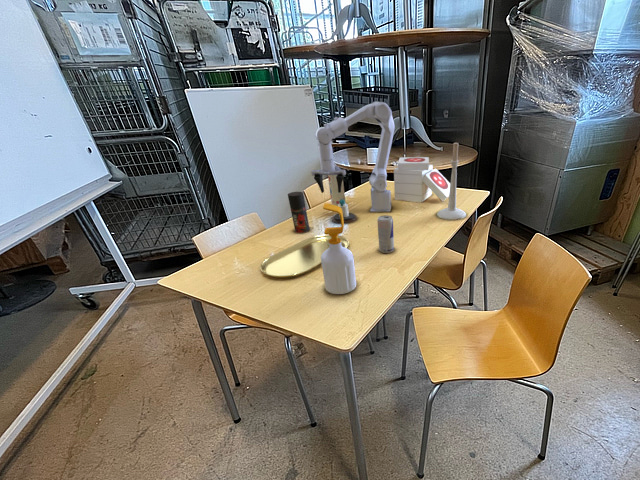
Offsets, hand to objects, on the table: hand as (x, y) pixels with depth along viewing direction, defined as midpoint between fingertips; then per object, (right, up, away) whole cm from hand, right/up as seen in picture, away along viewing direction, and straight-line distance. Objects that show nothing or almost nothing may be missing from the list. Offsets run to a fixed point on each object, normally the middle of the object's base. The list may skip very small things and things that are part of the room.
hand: (331, 192), depth 148 cm
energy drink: (+26, -30, -28) cm, 48 cm away
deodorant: (-10, -19, -9) cm, 24 cm away
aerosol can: (0, -1, +18) cm, 18 cm away
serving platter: (-2, -33, -31) cm, 45 cm away
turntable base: (+6, -12, 0) cm, 13 cm away
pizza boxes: (+43, +5, +25) cm, 50 cm away
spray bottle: (+6, -11, 0) cm, 13 cm away
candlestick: (+54, -10, +2) cm, 55 cm away
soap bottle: (+13, -44, -49) cm, 67 cm away
